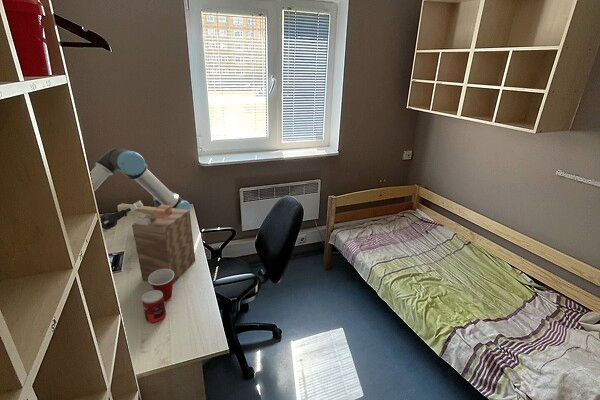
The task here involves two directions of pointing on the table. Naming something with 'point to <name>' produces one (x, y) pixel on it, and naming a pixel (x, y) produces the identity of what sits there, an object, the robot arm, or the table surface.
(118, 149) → the robot arm
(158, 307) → the canned food
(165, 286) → the plastic cup
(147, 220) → the twin white cubes
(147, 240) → the wooden tower
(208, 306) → the table surface
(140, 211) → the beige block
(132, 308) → the table surface
